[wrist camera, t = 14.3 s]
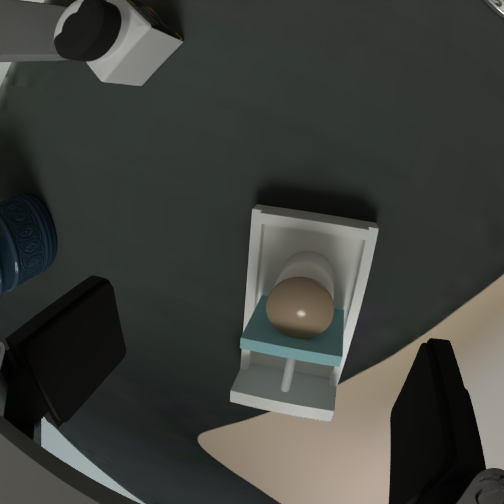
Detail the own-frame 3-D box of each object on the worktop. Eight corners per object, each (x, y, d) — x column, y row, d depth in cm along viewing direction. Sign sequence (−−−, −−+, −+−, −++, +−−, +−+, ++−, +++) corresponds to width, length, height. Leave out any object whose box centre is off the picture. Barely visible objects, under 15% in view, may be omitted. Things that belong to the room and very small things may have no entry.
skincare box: (103, 13, 28) (4, -11, 14) (90, 65, 31) (-14, 58, 17) (60, 20, 30) (-30, 7, 15) (49, 66, 33) (-44, 66, 18)
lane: (376, 222, 30) (383, 243, 25) (333, 387, 39) (330, 421, 33) (257, 204, 33) (240, 220, 27) (243, 370, 41) (230, 401, 36)
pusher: (344, 309, 33) (342, 357, 26) (327, 373, 37) (320, 422, 30) (261, 295, 35) (240, 337, 28) (254, 359, 39) (236, 404, 31)
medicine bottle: (186, 41, 28) (117, 11, 17) (141, 87, 31) (64, 80, 20) (150, 7, 27) (81, -23, 16) (111, 51, 30) (36, 39, 19)
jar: (340, 255, 32) (339, 286, 26) (330, 304, 34) (326, 343, 28) (284, 245, 33) (269, 274, 27) (277, 295, 35) (262, 331, 29)
